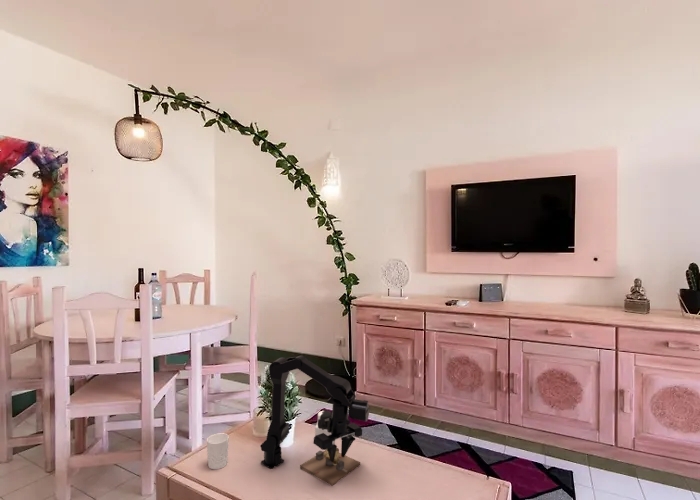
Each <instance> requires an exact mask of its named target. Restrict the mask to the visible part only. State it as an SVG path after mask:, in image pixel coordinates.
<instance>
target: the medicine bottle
mask: <svg viewBox="0 0 700 500" xmlns="http://www.w3.org/2000/svg"><path fill="white" fill-rule="evenodd" d="M330 417H332V412H331V411H329V410H322V411H319V412H318V413H317V420H318V419H328V418H330ZM314 427H315V428H314V429H315V430H314V431H315V432H314V437H315V436H316V435H319V434H322V433H324V434H326V435H327V436H329V435H331V433H329V432H327V429H324V430H322V429H319V428H318V421H317V422H316V425H315V426H314Z"/></svg>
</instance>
